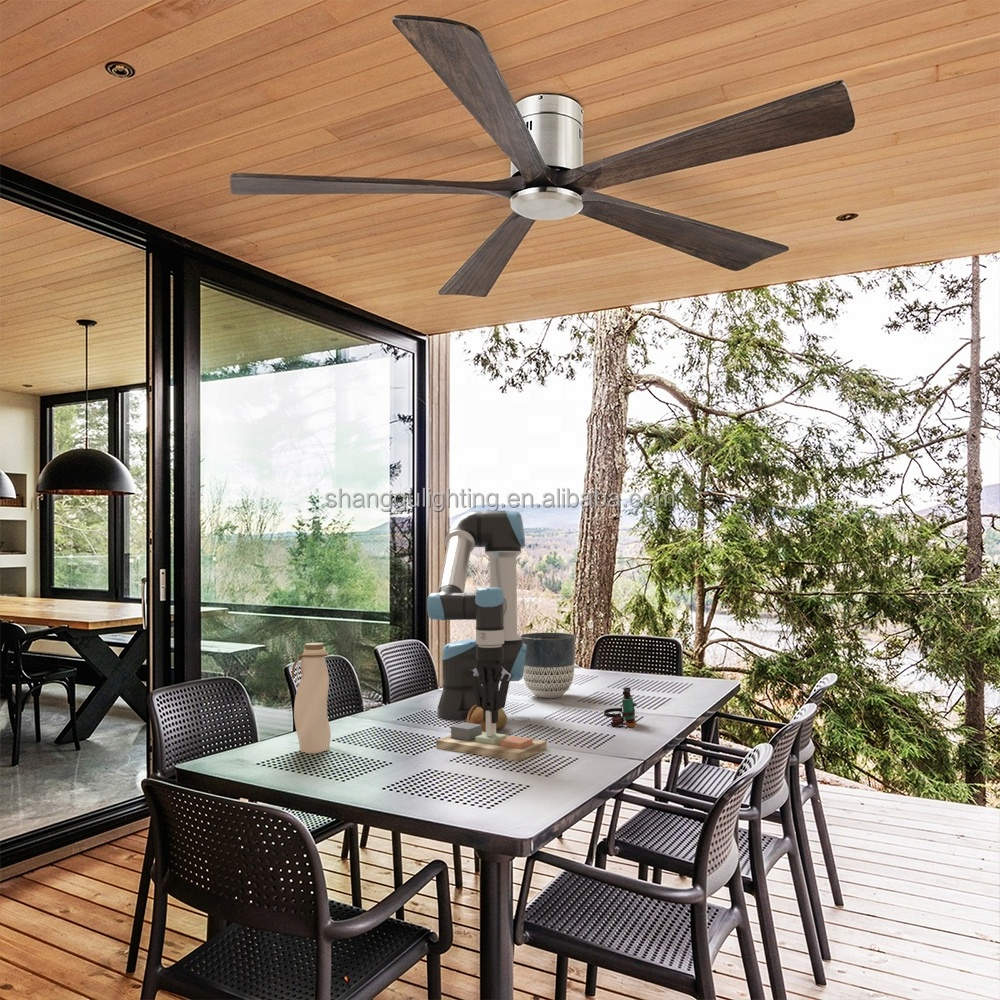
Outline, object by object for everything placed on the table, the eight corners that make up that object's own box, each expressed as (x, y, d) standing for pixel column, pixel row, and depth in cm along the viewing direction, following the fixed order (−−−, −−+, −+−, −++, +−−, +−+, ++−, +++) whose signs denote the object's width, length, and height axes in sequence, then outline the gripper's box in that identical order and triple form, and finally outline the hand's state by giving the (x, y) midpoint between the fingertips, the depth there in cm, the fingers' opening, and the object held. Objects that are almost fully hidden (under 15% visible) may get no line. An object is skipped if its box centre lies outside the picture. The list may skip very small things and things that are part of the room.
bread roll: (457, 735, 227) (457, 706, 228) (487, 724, 240) (487, 697, 240) (484, 739, 222) (484, 710, 222) (514, 728, 234) (513, 701, 235)
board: (436, 747, 213) (436, 740, 213) (466, 736, 225) (466, 729, 225) (518, 761, 199) (518, 753, 199) (546, 748, 210) (546, 741, 210)
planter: (585, 695, 283) (584, 634, 284) (560, 704, 267) (559, 640, 268) (538, 690, 293) (537, 631, 295) (510, 699, 277) (509, 637, 278)
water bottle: (296, 756, 206) (296, 647, 207) (288, 748, 213) (288, 643, 215) (335, 751, 210) (335, 644, 212) (326, 744, 218) (326, 641, 220)
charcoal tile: (451, 737, 215) (451, 726, 215) (464, 733, 220) (464, 722, 220) (469, 740, 212) (469, 729, 212) (482, 735, 217) (481, 724, 217)
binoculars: (602, 688, 243) (635, 686, 241) (606, 723, 242) (639, 721, 240) (599, 694, 234) (634, 691, 232) (604, 730, 233) (638, 728, 231)
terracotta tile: (500, 752, 206) (500, 740, 207) (513, 747, 211) (512, 735, 212) (520, 755, 203) (520, 743, 203) (532, 750, 208) (532, 738, 208)
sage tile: (475, 748, 211) (475, 736, 211) (488, 743, 216) (488, 732, 216) (494, 751, 208) (494, 739, 208) (506, 746, 212) (506, 734, 213)
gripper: (462, 645, 213) (462, 735, 212) (502, 648, 206) (503, 741, 205) (478, 642, 220) (478, 729, 218) (518, 645, 213) (519, 735, 211)
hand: (491, 735), depth 212 cm, fingers closed
